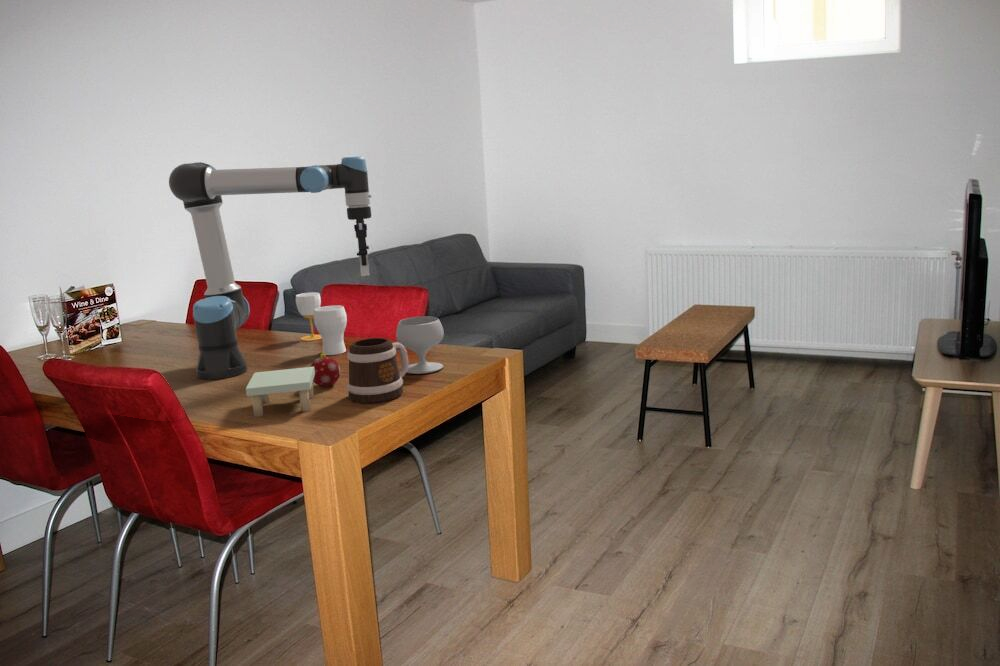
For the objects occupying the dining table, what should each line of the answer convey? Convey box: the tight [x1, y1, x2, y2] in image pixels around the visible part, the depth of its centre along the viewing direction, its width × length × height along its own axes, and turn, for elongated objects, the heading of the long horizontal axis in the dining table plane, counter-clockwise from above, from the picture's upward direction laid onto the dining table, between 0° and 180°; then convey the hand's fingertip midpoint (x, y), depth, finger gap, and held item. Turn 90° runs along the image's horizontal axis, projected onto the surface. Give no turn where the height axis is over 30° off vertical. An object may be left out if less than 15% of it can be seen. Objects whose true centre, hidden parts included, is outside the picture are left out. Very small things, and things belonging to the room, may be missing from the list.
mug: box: [346, 337, 409, 404], centre depth 230 cm, size 20×15×15 cm
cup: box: [313, 304, 348, 356], centre depth 281 cm, size 11×11×15 cm
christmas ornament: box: [309, 351, 341, 388], centre depth 242 cm, size 9×9×10 cm
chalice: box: [395, 315, 445, 375], centre depth 251 cm, size 14×14×15 cm
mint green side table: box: [245, 366, 315, 418], centre depth 225 cm, size 16×16×8 cm
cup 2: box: [295, 291, 322, 342], centre depth 305 cm, size 9×9×16 cm
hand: (365, 272), depth 274 cm, fingers open, 13 cm apart
